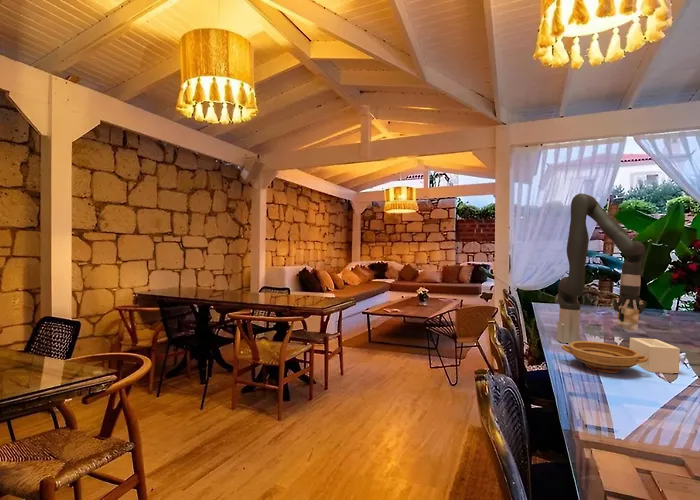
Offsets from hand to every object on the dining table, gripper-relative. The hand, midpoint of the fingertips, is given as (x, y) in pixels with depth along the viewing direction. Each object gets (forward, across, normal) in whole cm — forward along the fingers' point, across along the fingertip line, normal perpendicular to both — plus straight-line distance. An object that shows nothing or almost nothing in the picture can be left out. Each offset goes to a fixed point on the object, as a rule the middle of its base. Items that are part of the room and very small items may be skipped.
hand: (627, 321), depth 180 cm
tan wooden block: (+3, 0, 0) cm, 3 cm away
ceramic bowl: (+16, -19, -25) cm, 35 cm away
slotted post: (+15, +3, -17) cm, 23 cm away
